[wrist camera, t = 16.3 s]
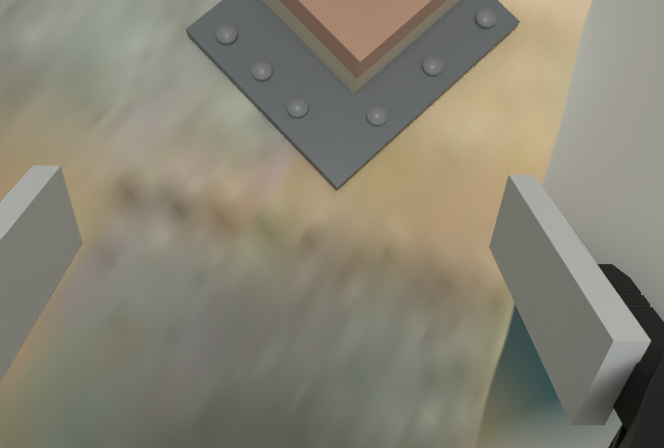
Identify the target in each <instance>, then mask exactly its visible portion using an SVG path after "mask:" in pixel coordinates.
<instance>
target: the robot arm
mask: <svg viewBox="0 0 664 448" xmlns="http://www.w3.org/2000/svg"><path fill="white" fill-rule="evenodd" d="M81 245H82V239H81V236H80V232H79V229H78V225H77V221H76V218H75V214H74V211H73V207H72V204H71V200H70V197H69V193H68V190H67V186H66V183H65V179H64V176H63V172H62V169H61V166H40V165H33V166H32V167H31V168H30V170H29V171H28V172H27V173H26V174H25V175H24V176H23V177H22V178H21V179H20V181H19V182H18V183H17V184H16V185H15V186H14V187H13V188H12V189H11V191H10V192H9V193H8V194H7V195H6V196H5V197H4V198H3V199H2V201H1V202H0V382H1V380H2V378H3V377H4V375H5V373H6V371H7V370H8V368H9V366H10V365H11V363H12V361H13V360H14V358H15V356H16V355H17V353H18V351H19V349H20V348H21V346H22V344H23V343H24V341H25V339H26V338H27V336H28V334H29V333H30V331H31V329H32V327H33V326H34V324H35V322H36V321H37V319H38V317H39V316H40V314H41V312H42V311H43V309H44V307H45V305H46V304H47V302H48V300H49V299H50V297H51V295H52V294H53V292H54V290H55V289H56V287H57V285H58V284H59V282H60V280H61V278H62V277H63V275H64V273H65V272H66V270H67V268H68V267H69V265H70V263H71V262H72V260H73V258H74V256H75V255H76V253H77V251H78V250H79V248H80V246H81ZM489 248H490V250H491V252H492V254H493V256H494V259H495V261H496V263H497V265H498V267H499V269H500V272H501V274H502V276H503V278H504V280H505V282H506V285H507V287H508V289H509V291H510V293H511V295H512V298H513V300H514V302H515V304H516V306H517V308H518V311H519V313H520V315H521V317H522V319H523V321H524V323H525V326H526V328H527V330H528V332H529V334H530V337H531V339H532V341H533V343H534V345H535V347H536V349H537V352H538V354H539V356H540V358H541V360H542V362H543V365H544V367H545V369H546V371H547V373H548V375H549V378H550V380H551V382H552V384H553V386H554V388H555V391H556V393H557V395H558V397H559V399H560V401H561V403H562V406H563V407H564V410H565V412H566V414H567V416H568V419H569V421H570V423H571V425H605V423H606V421H607V419H608V418H609V416H610V414H611V412H612V410H613V409H615V411H616V413H617V415H618V416H619V418H620V420H621V422H622V425H621V427H620V429H619V430H618V432H617V434H616V436H615V437H614V439H613V441H612V442H611V444H610V446H609V448H664V322H663V321H662V319H661V318H660V317H659V315H658V314H657V313H656V311H655V310H654V309H653V308H652V307H650V304H649V302H648V301H647V300H646V298H645V297H644V296H643V295H641V292H640V291H639V289H638V288H637V286H636V285H635V284H634V283H633V281H632V280H631V279H630V277H628V276H627V275H626V274H624V273H623V272H621V271H620V270H619V269H617V268H616V267H615V266H613V265H612V264H596V262H595V261H594V259H593V258H592V257H591V255H590V254H589V253H588V251H587V249H586V248H585V247H584V245H583V244H582V243H581V241H580V240H579V238H578V237H577V235H576V234H575V233H574V231H573V230H572V228H571V227H570V225H569V224H568V223H567V221H566V220H565V218H564V217H563V216H562V214H561V213H560V211H559V210H558V209H557V207H556V206H555V204H554V203H553V201H552V200H551V199H550V197H549V196H548V194H547V193H546V192H545V190H544V189H543V187H542V186H541V184H540V183H539V182H538V180H537V179H536V177H535V176H534V175H511V174H509V175H508V179H507V183H506V187H505V191H504V194H503V198H502V202H501V206H500V209H499V213H498V217H497V221H496V224H495V228H494V232H493V236H492V240H491V243H490V247H489Z"/></svg>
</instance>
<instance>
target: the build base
mask: <svg viewBox="0 0 664 448" xmlns="http://www.w3.org/2000/svg"><path fill="white" fill-rule="evenodd" d="M519 22H520V21H519V20H518V19H517V18H516V17H515V16H513V15H512V14H511V13H510V12H509V11H508V10H507V9H506V8H505V7H504V6H503V5H502V4H501V3H500V2H499V1H498V0H222V1H221V2H220V3H218V4H217V5H216V6H215V7H213V8H212V9H211V10H210V11H208V12H207V13H206V14H205V15H203V16H202V17H201V18H200V19H198V20H197V21H196V22H195V23H193V24H192V25H191V26H190V27H188V28H187V29H186V31H187V34H188V36H189V37H190V38H191V39H192V40H193V42H194V43H195V44H196V45H197V46H198V47H199V48H200V49H201V50H202V51H203V52H204V53H205V54H206V55H207V56H208V57H209V58H210V59H211V60H212V61H213V62H214V63H215V64H216V65H217V67H218V68H219V69H220V70H221V71H222V72H223V73H224V74H225V75H226V76H227V77H228V78H229V79H230V80H231V81H232V82H233V83H234V84H235V85H236V86H237V87H238V88H239V89H240V90H241V92H242V93H243V94H244V95H245V96H246V97H247V98H248V99H249V100H250V101H251V102H252V103H253V104H254V105H255V106H256V107H257V108H258V109H259V110H260V111H261V112H262V113H263V114H264V115H265V117H266V118H267V119H268V120H269V121H270V122H271V123H272V124H273V125H274V126H275V127H276V128H277V129H278V130H279V131H280V132H281V133H282V134H283V135H284V136H285V137H286V138H287V139H288V141H289V142H290V143H291V144H292V145H293V146H294V147H295V148H296V149H297V150H298V151H299V152H300V153H301V154H302V155H303V156H304V157H305V158H306V159H307V160H308V161H309V162H310V163H311V164H312V166H313V167H314V168H315V169H316V170H317V171H318V172H319V173H320V174H321V175H322V176H323V177H324V178H325V179H326V180H327V181H328V182H329V183H330V184H331V185H332V186H333V187H334V188H335V189H336V191H337V190H338V189H339V188H340V187H341V186H343V185H344V184H345V183H346V182H347V181H348V180H349V179H350V178H351V177H352V176H354V175H355V174H356V173H357V172H358V171H359V170H360V169H361V168H362V167H363V166H365V165H366V164H367V163H368V162H369V161H370V160H371V159H372V158H373V157H374V156H376V155H377V154H378V153H379V152H380V151H381V150H382V149H383V148H384V147H385V146H387V145H388V144H389V143H390V142H391V141H392V140H393V139H394V138H395V137H396V136H398V135H399V134H400V133H401V132H402V131H403V130H404V129H405V128H406V127H407V126H409V125H410V124H411V123H412V122H413V121H414V120H415V119H416V118H417V117H418V116H420V115H421V114H422V113H423V112H424V111H425V110H426V109H427V108H428V107H429V106H431V105H432V104H433V103H434V102H435V101H436V100H437V99H438V98H439V97H440V96H441V95H443V94H444V93H445V92H446V91H447V90H448V89H449V88H450V87H451V86H452V85H454V84H455V83H456V82H457V81H458V80H459V79H460V78H461V77H462V76H463V75H465V74H466V73H467V72H468V71H469V70H470V69H471V68H472V67H473V66H474V65H476V64H477V63H478V62H479V61H480V60H481V59H482V58H483V57H484V56H485V55H487V54H488V53H489V52H490V51H491V50H492V49H493V48H494V47H495V46H496V45H498V44H499V43H500V42H501V41H502V40H503V39H504V38H505V37H506V36H507V35H509V34H510V33H511V32H512V31H513V30H514V29H515V28H516V27H517V25H518V24H519Z"/></svg>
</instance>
